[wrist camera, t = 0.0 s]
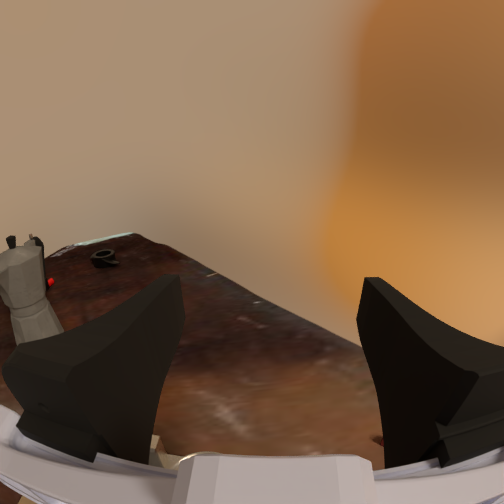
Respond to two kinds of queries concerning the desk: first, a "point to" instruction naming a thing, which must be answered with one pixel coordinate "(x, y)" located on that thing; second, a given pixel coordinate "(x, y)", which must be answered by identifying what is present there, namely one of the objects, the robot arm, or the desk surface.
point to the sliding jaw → (25, 501)
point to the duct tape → (104, 258)
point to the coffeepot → (27, 291)
